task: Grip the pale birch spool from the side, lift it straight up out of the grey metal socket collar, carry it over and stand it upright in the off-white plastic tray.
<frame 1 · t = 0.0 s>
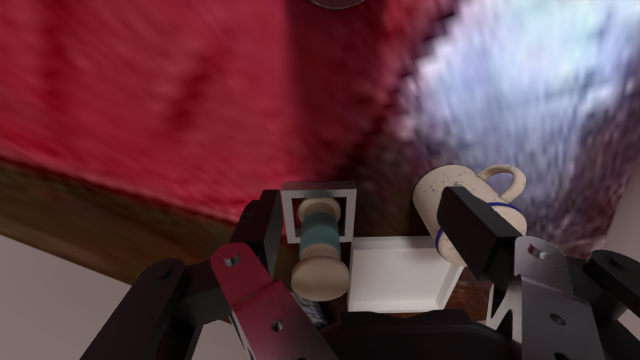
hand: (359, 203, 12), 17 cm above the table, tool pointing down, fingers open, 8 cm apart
socket: (319, 209, 34), on the table
teacup with lid: (450, 182, 32), on the table
tray: (399, 271, 42), on the table
spool: (319, 240, 29), in the socket
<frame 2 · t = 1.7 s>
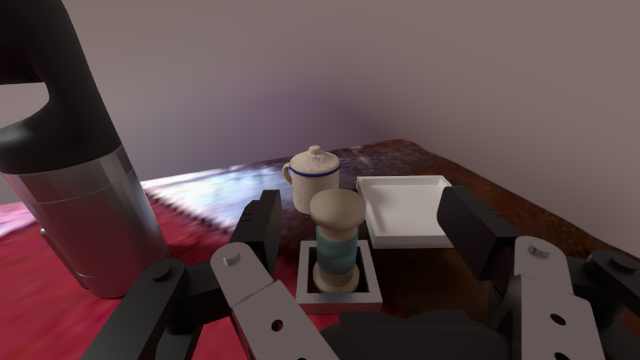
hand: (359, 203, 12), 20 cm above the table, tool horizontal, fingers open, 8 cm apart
socket: (335, 277, 31), on the table
teacup with lid: (309, 201, 47), on the table
tray: (412, 211, 43), on the table
spool: (336, 244, 28), in the socket
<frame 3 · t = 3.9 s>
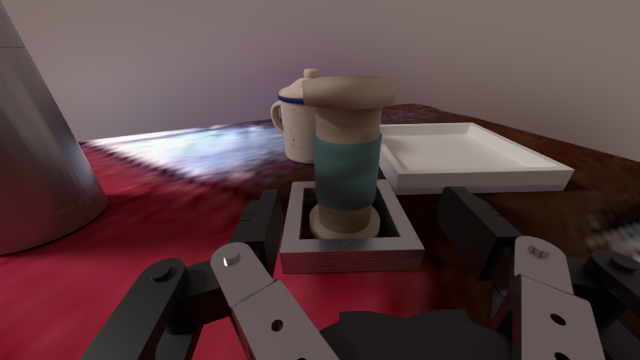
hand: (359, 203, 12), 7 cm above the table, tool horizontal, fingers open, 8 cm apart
socket: (343, 226, 21), on the table
teacup with lid: (306, 153, 37), on the table
tray: (440, 159, 33), on the table
spool: (346, 165, 18), in the socket
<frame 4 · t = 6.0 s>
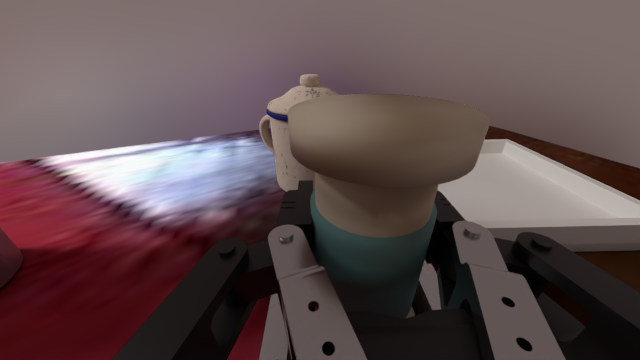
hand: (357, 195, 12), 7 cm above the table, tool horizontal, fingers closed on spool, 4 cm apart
socket: (357, 323, 13), on the table
teacup with lid: (303, 178, 29), on the table
tray: (475, 190, 26), on the table
spool: (365, 245, 11), in the socket, touching gripper
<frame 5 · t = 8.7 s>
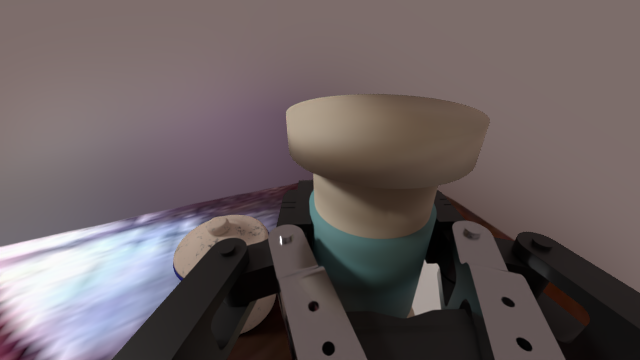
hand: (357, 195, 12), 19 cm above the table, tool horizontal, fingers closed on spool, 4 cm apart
teacup with lid: (231, 294, 28), on the table
tray: (397, 320, 25), on the table
spool: (365, 246, 10), point 18 cm above the table, touching gripper
when the fingers open (9 cm above the table, at t = 11.5 s): spool drops 1 cm, resting on tray.
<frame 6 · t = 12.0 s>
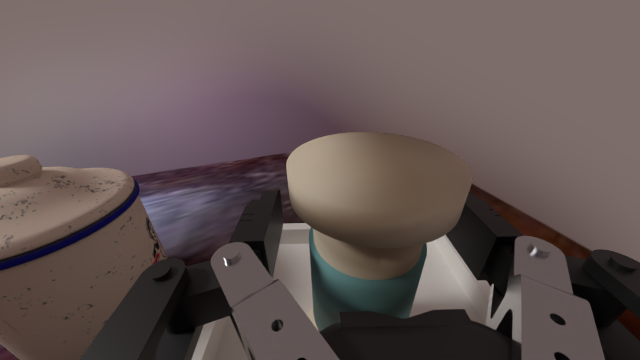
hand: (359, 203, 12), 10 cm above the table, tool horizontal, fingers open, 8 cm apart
teacup with lid: (102, 296, 18), on the table
tray: (355, 347, 15), on the table
spool: (361, 274, 11), in the tray, point 7 cm above the table
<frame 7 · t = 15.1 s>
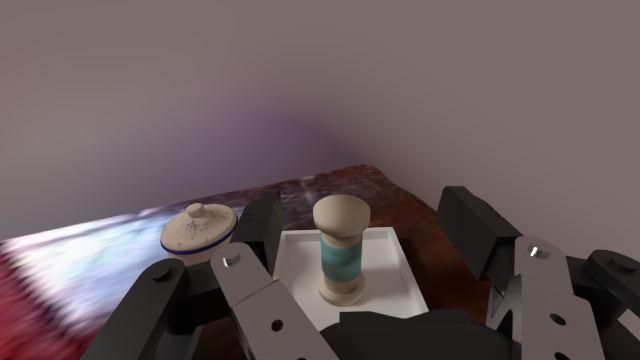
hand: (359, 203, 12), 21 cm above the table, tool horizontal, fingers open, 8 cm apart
teacup with lid: (211, 270, 35), on the table
tray: (341, 288, 31), on the table
spool: (341, 251, 28), in the tray, point 7 cm above the table
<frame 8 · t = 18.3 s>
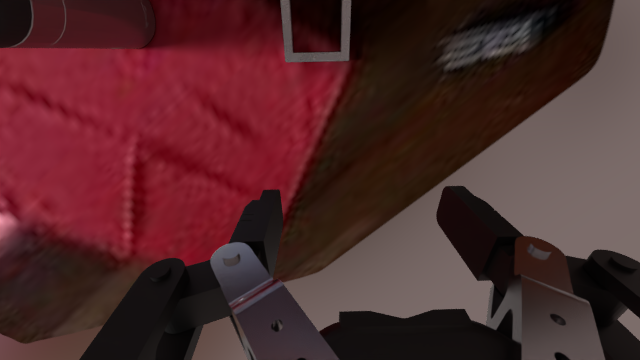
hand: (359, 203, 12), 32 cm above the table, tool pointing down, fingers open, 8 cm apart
socket: (316, 24, 35), on the table
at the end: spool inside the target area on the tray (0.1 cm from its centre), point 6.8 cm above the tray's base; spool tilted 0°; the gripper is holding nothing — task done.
